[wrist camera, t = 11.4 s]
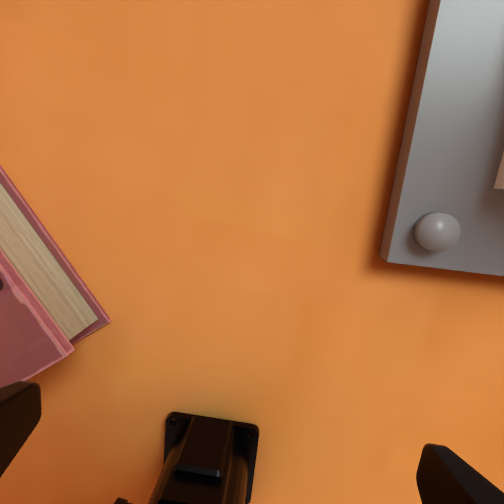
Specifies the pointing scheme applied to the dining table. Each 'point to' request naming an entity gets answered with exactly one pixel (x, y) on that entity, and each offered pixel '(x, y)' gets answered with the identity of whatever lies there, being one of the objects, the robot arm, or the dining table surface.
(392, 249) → the tower base
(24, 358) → the book
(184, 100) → the dining table surface
